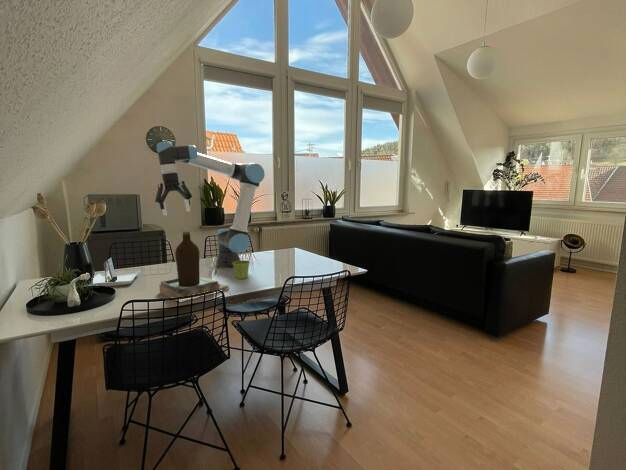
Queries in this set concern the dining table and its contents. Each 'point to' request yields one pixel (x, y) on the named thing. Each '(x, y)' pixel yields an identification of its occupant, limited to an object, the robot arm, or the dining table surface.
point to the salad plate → (122, 278)
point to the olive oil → (187, 262)
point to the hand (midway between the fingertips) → (177, 213)
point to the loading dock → (174, 290)
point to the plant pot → (241, 268)
